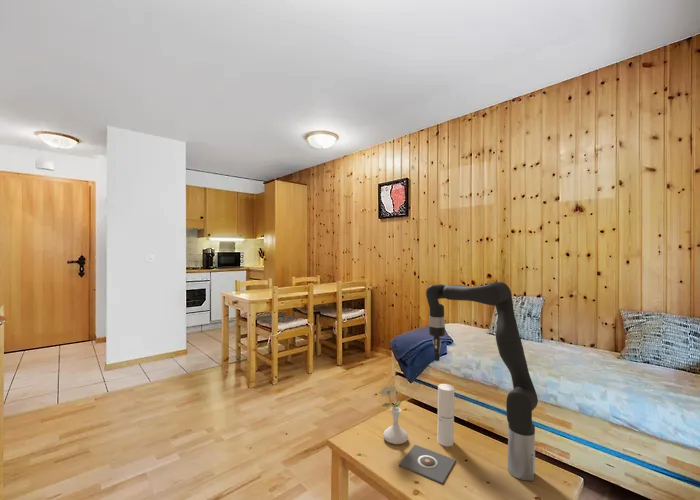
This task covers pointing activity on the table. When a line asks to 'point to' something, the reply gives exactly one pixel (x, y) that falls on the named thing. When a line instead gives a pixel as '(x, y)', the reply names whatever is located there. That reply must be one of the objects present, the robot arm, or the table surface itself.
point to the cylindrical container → (445, 415)
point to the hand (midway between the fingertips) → (437, 360)
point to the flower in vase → (395, 431)
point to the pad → (428, 463)
